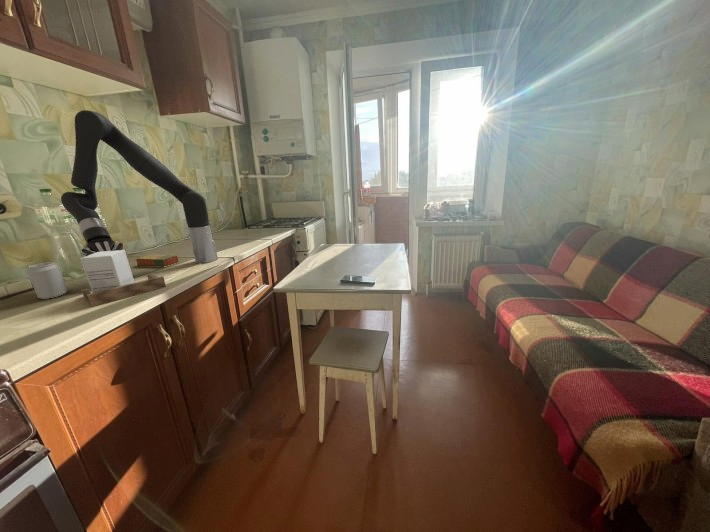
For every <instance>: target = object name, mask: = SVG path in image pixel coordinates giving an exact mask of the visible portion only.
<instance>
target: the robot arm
mask: <svg viewBox="0 0 710 532" xmlns="http://www.w3.org/2000/svg"><path fill="white" fill-rule="evenodd" d="M74 134H75V135H74V136H75V149H74V161H73V167H72V173H71V178H70V184H71V186H74V187H76V188H78V189H80V190H84V192H85V193H82V192H81V193H80V192H74V191H66V192H64V193H62V195H61V197H60V201H61V204H62V206H63V207H64V209H65V210H66V211H67V212H68V213H69V214H70V215H72V217H73V218H74V219H75V220H76V222H77V224H78V226H79V230H80V233H81V235H82V237H83V238H84V240H85V243H86V248H81V254H82V256H84V257H86V256H88V255H91V254H94V253H96V252H102V251H117V250H124V243H122V242H119V243H118V242H116V241H115V240H114V239H113V238H112V237H111V235H110V233H109V231H108V228H107V227H106V225H105V224H104V223H103V220H102V219H101V217H100V215H99V213H98V212H97V211H96V209H97V208H98V198H97V193H96V191H97V190H96V182H97V179H98V172H99V171H98V169H99V168H98V147H99V144H100V141H102V142H104V143H105V144H106V145H107V146H109V147H111V148H112V149H113V150H115V151H116V152H117V153H118V154H119V155H120V156H121V157H122V158H123V160H125V162H126V163H127V164H128V165H129V166H130V167H131V168H132V169H133V170H135V171H136V172H137V173H139V174H140V175H141V176H143V177H144V178H145V179H146V180H147V181H150V182H151V183H153V184H154V185H155V186H158V187H159V188H161V189H163V190H164V191H167V192H168V193H169V194H170V195H172V196H173V197H174V198H176V199H177V201H179V202H180V203H181V205H182V207H183V208H182V209H183V211H184V216H185V221H186V224H187V229H188V234H189V238H190V244H191V248H192V251H193V256H194V261H195V264H205V263H206V264H207V263H212V262H214V261H217V260H218V259H219V256H218V251H217V247H216V246H217V245H216V242H215V240H213V235H212V231H211V225H210V219H209V213H208V209H207V203H206V198H204V196H203V195H202V194H200V192H198V191H195V190H194V189H193V188H191V187H190V186H188V185H186V184H185V183H184V182H183V181H181V179H179V178H178V177H177V176H176V175H175V173H173V172H172V171H171V170H170V169H169V168H168V167H167V166H166V165H164V163H162V162H161V161H160V160H158V159H157V158H156V157H155V156H154V155H152V154H151V153H150V152H148V151H147V150H145V149H144V148H143V147H141V146H140V145H139V144H138V143H136V142H135V141H133V140H132V139H130V138H129V137H128V136H126V134H124V133H123V132H122V131H121V130H120V129H119V128H118V127H117V126H116V125H115V124H114V123H113V122H112V121H111V120H109V119H108V117H106V116H104V114H102V113H100V112H97V111H92V110H85V109H83V110H80V111H78V112H77V113H76V114H75V116H74ZM114 248H115V249H114Z"/></svg>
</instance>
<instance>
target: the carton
mask: <svg viewBox="0 0 710 532" xmlns="http://www.w3.org/2000/svg"><path fill="white" fill-rule="evenodd" d="M177 262H179V263H180V261H179V257H178V255H175V254H174V255H171V254H170V255H169V254H148V255H145V256H141V257H138V258H136V263H137V266H138V267H142V266H161V267H160V268H165V267H164V266H168V265H170V266H172V265H171V264H173V265H175V264H174V263H176V264H178V263H177ZM168 267H169V266H168Z"/></svg>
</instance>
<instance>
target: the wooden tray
mask: <svg viewBox="0 0 710 532" xmlns="http://www.w3.org/2000/svg"><path fill="white" fill-rule="evenodd" d="M146 277H147V279H144V280H143V279H142V280H140V281H136V282H135V281H134V282H135V283H131V284H127V285H123V286H119V287H115V288H111V289H107V290H103V291H99V292H95V293H92V291H90V290H89V288H84V289H80V290H81V293H82V296H83V297H85V298H84V299H85V300H86V301H87V302H89V303H88V304H89V305H90V307H92V308H94V307H97V306H101V305H105V304H108V303H112V302H115V300H116V301H119V300H123V299H126V298H130V297H134V296H136V295H140V294H145V293H148V292H152V291H155V290H158V289H163V288H166V287H167V284H166V282H165V277H164V276H163V275H161V276H157V275H155V274H153V273H148V274H146ZM162 287H163V288H162ZM111 301H112V302H111ZM104 303H105V304H104ZM100 304H101V305H100ZM96 305H97V306H96ZM93 306H94V307H93Z"/></svg>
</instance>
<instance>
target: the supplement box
mask: <svg viewBox="0 0 710 532" xmlns="http://www.w3.org/2000/svg"><path fill="white" fill-rule="evenodd" d="M93 253H94V254H91V255H88V256H83V257H80V261H81V264H82V268H83V270H84V273H85V275H86V279H87V282H88V284H89V288H90V290H91V293H95V292H99V291H103V290H107V289H111V288H115V287H119V286H123V285H127V284H131V283H135V279H134V276H133V273H132V269H131V267H130V262H129V260H128V256H127V254H126V253H127V252H126V251H125V249H122V250H117V251H115V250H112V251H102V252H96V253H95V252H93Z"/></svg>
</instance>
